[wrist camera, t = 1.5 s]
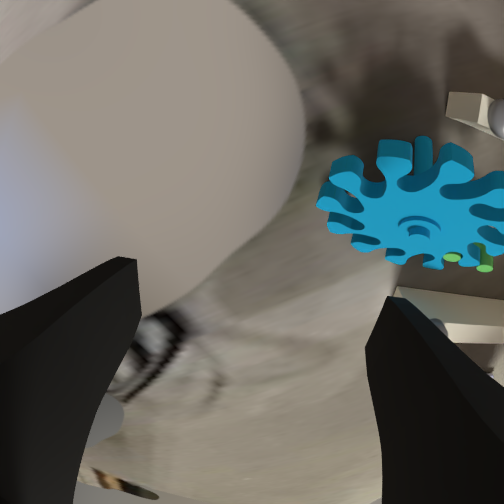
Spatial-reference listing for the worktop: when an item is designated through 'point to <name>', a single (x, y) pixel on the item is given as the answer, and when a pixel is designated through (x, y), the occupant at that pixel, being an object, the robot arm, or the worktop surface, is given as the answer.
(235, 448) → the worktop surface
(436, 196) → the gear
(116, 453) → the worktop surface
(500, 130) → the gear housing
